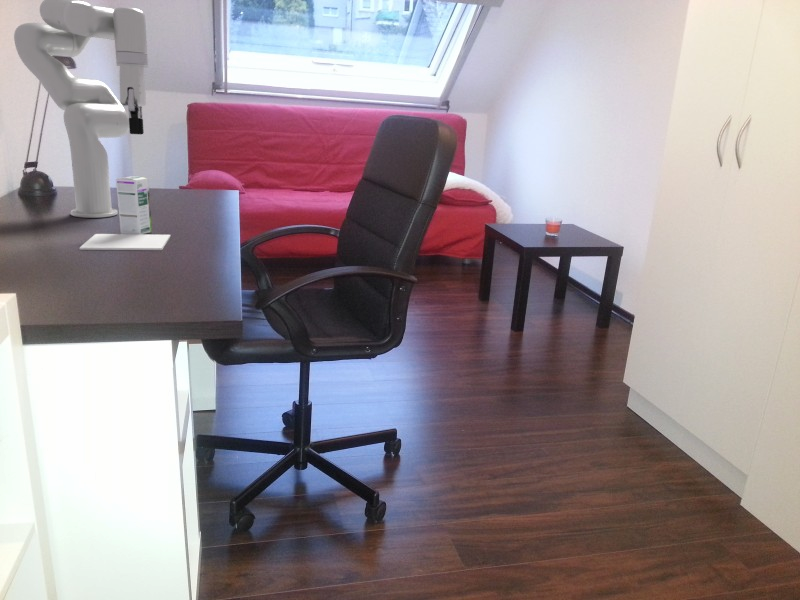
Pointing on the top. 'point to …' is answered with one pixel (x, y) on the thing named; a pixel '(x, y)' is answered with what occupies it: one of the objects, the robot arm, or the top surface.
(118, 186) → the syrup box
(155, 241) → the mat
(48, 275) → the top surface
